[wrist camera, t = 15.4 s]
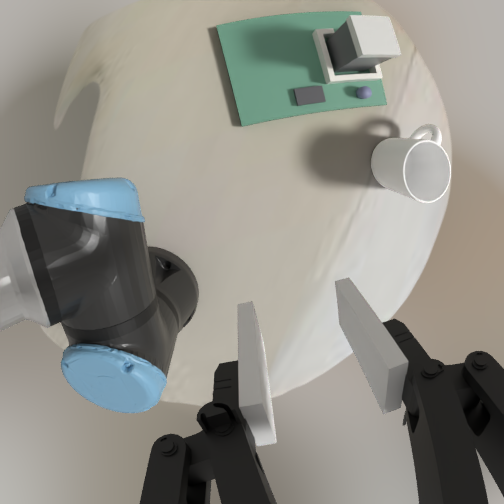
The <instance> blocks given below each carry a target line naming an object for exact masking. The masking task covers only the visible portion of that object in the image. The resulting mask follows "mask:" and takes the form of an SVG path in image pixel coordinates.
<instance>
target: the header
mask: <svg viewBox="0 0 504 504" xmlns="http://www.w3.org/2000/svg"><path fill="white" fill-rule="evenodd" d="M334 33H335V32H334V29H333V28H329V29H315V31H314V32H313V34H312V36H313V39H314V42H315V46H316V49H317V52H318V56H319V59H320V63H321V67H322V70H323V74H324V78H325V82H326V84H334V83H345V82H359V81H377V80H379V79H382V78H383V76H382V72H381V69H380V65H379V64H378V65H376V66H374V67H372V68H369V71H370V73H368V74H350V75H337V76H335V75H334V71H333V67H332V63H331V60H330V56H329V53H328V49H327V46H326V43H325V39H324V38H330V37H331V36H332V35H333V34H334Z"/></svg>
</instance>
